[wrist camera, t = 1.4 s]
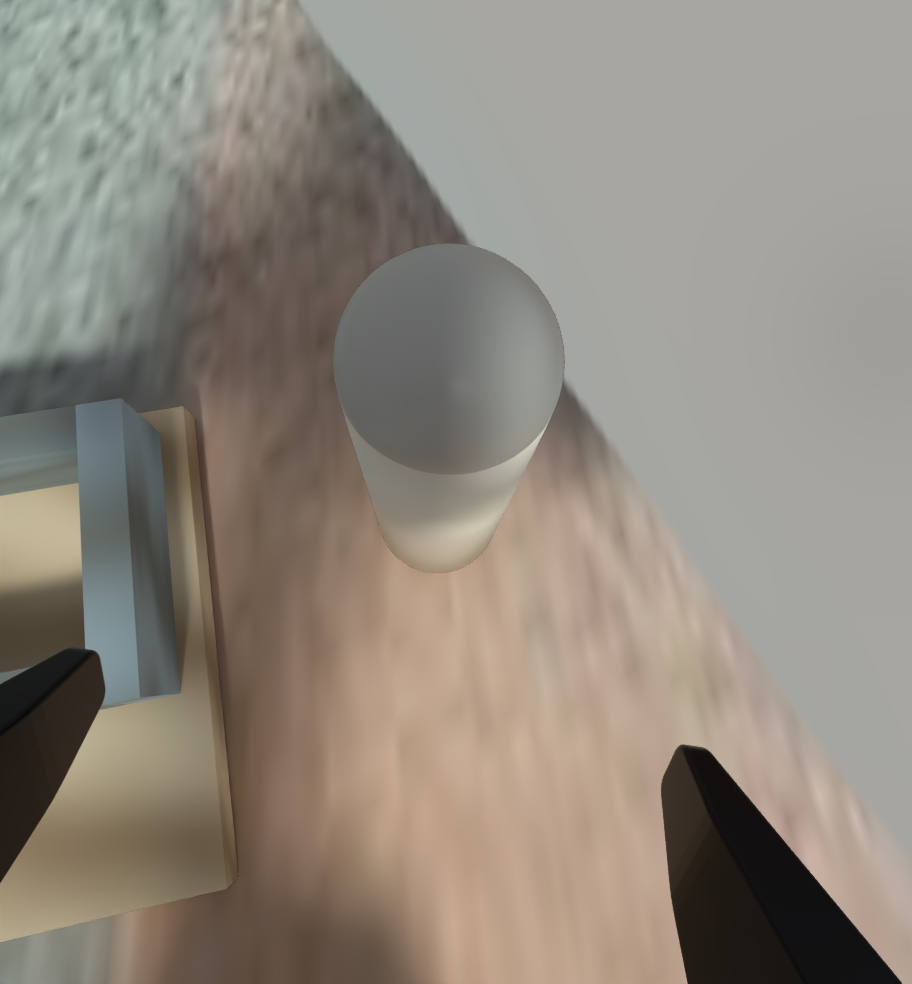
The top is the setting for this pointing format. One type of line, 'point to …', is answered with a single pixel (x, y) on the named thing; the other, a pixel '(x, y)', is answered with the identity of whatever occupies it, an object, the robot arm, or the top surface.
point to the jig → (116, 660)
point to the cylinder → (446, 395)
